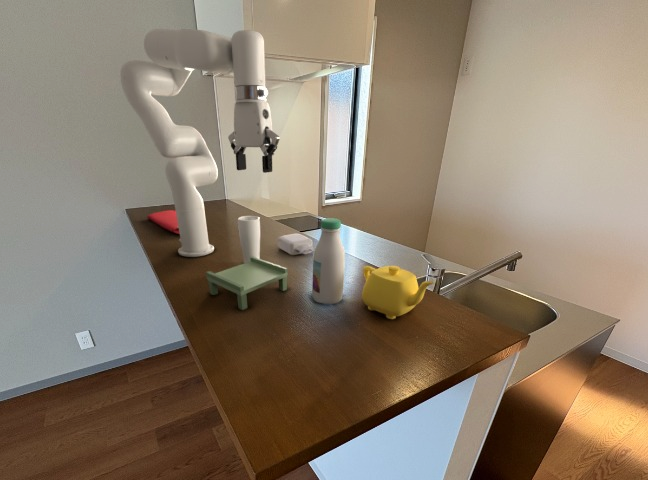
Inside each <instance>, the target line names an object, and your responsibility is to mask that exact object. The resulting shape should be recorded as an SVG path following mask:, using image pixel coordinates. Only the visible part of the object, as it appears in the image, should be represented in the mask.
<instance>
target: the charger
mask: <svg viewBox="0 0 648 480" xmlns="http://www.w3.org/2000/svg"><path fill="white" fill-rule="evenodd" d="M277 246H278V248H279V249H280V250H282V251H284V252H285V253H287V254H289V255H290V256H295V255H296V256H297V255H301V254H303V255H307V254H310V253H314V251H315V247H313V239H311V238H309V237H307V236H305V235H303V234H300V233H298V232H297V233H290V234H284V235H280V236H279V237H278V238H277Z"/></svg>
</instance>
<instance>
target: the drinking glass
mask: <svg viewBox="0 0 648 480" xmlns="http://www.w3.org/2000/svg"><path fill="white" fill-rule="evenodd" d="M260 219H261V218H260V217H259V216H257V215H243V216H239V217H237V229H238V237H239V243H240V249H241V254H242V261H243V262H242V264H244V263H247V262H250V261H251V260H250V257H256V258H259V259H261V258H260V257H261V220H260Z"/></svg>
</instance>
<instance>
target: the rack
mask: <svg viewBox="0 0 648 480" xmlns="http://www.w3.org/2000/svg"><path fill="white" fill-rule="evenodd" d="M250 260H251V261H250V262H247V263H241V264H238V265H236V266H233V267H230V268H227V269H225V270H221V271H218V272H213V271H210V270H208V271H206V272H205V275H206V276H205V277H206V280H207V281H208V287H209V294H210V295H212V296H216V295H218V294H219V288H218V286H220V287H221V288H223V289H225V290H228V291H230V292H232V293H234V294H236V296H237V307H238V309H239V310H241V311H244V310H246V309H248V297H247V294H248V293H251V292H254V291H256V290H259V289H260V288H263V287H265V286H268V285H270V284H272V283H275V282H277V281H278V290H279V291H281V292H285V291H287V290H288V278H287V277H288V276H289V273H288V272H289V269H288V267H285V266H282V265H280V264H276V263H274V262H270V261H268V260H264V259H262V258H260V259H259V258H256V257H250Z"/></svg>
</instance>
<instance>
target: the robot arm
mask: <svg viewBox="0 0 648 480" xmlns="http://www.w3.org/2000/svg"><path fill="white" fill-rule="evenodd" d="M143 48H144V52H145V54H146V56H147V57H148V58H149V60H150V61H147V60H137V59H134V60H132V59H131V60H128V61H126V62H124V63H123V64H122V66H121V68H120V70H119V71H120V73H119V74H120V76H119V77H120V83H121V87H122V88H121V89H122V91H123V93H124V96H125V98H126V100H127V101H128V103H129V105H130V106H131V108H132V109H133V111H134V112H135V113H136V115H137V116H138V117H139V119H140V121H141V122H142V124H143V126H144V128H145V130H146V131H147V133H148V135H149V137H150V139H151V140H152V143H153V144H154V146H155V148H156V150H157V152H158V153H159V154H160V155H161V156H162V157H164V158H167V159H169V160H168V161H167V162H166V164H165V170H164V172H165V176H166V180H167V182H168V184H169V188H170V191H171V194H172V199H173V203H174V205H173V206H174V209H175V210H174V211H176V216H177V221H178V227H179V233H180V234H179V239H178V242H179V243H181V247H179V248H178V250H177V252H178V255H179V256H181V257H186V258H195V257H196V258H197V257H204V256H207V255H211V253H213V252H214V250H215V247H214V245H213V244H210V242H209V235H208V227H207V219H206V212H205V204H204V199H203V198H202V195H201V194H200V193H199V191H198V189H197V187H204V186H209V185H212V184H215V183H216V181H217V179H218V176H219V172H218V167H217V164H216V161H215V159H214V157H213V155H212V153H211V151H210V149H209V148H208V145H207V143H206V141H205V139H204V137H203V136H202V134H201V133H200V132H199V130H197V129H196V128H195V127H193V126H191V125H182V124H181V125H180V124H179V125H178V124H176V123H174V121H173V120H172V118H171V117H170V115H169V113H168V111H167V110H166V108H165V107H164V106H163V105H162V104H161V103H160V102H159V101H158V100H157V99H156V98H154V97H153V96H158V97H159V96H160V97H174V96H177V95H179V93H180V92H181V90H182V89H183V87H185V84H186V82H187V81H188V79H189V78H190V76H191V74H192V73H193V71H195V70H196V71H203V72H206V73H207V72H208V73H214V74H221V75H225V76H231V77H233V83H234V100H235V103H234V108H233V131H232V132H231V133H230V134H229V135H228V136H227V138H228V142H229V143H230V148H231V149H232V150H233V154H234V155H235V164H236V166H235V167H236V170H237V171H245V170H247V157H246V156H247V155H246V153H245V151H246V149H247V148H259V149H260V151H261V152H262V154H263V155H261V156H262V157H261V162H262V163H261V164H262V173H263V174H264V173H265V174H266V173H272V172H273V156H274V155H275V152H276V150H277V149H278V145H279V142H280V136H279V135H278V134H277V133H276V132H274V131H273V120H272V114H271V107H270V104H269V102H267V98H266V97H267V96H268V95H269V91H268V89H267V88H266V60H265V59H266V57H265V39H264V36H263V35H262V34H261V33H260V32H259V31H256V30H252V29H242V30H238V31H235V32H233V34H232V35H231V37H230V36H225V35H222V34H219V33H216V32H211V31H209V30H202V29H192V28H191V29H190V28H181V29H180V30H179V29H167V28H166V29H165V28H154V29H151V30H149V31H148V32H147V33H146V34H145V36H144V39H143Z"/></svg>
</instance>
